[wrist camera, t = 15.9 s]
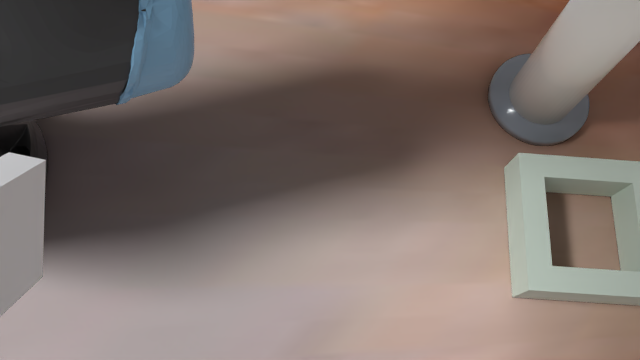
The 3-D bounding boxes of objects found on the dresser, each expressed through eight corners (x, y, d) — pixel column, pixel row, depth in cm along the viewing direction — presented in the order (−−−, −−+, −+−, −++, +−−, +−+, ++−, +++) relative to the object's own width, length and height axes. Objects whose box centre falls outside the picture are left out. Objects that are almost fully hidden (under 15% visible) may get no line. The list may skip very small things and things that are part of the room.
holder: (512, 297, 41) (528, 290, 38) (504, 168, 45) (518, 152, 42) (648, 306, 41) (675, 299, 39) (629, 177, 45) (652, 162, 42)
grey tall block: (497, 100, 46) (599, -44, 31) (528, 58, 47) (640, -98, 32) (551, 136, 45) (683, 6, 30) (581, 92, 46) (721, -52, 32)
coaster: (469, 106, 46) (472, 101, 46) (519, 42, 49) (523, 36, 48) (554, 164, 45) (558, 161, 44) (601, 95, 47) (606, 90, 47)
